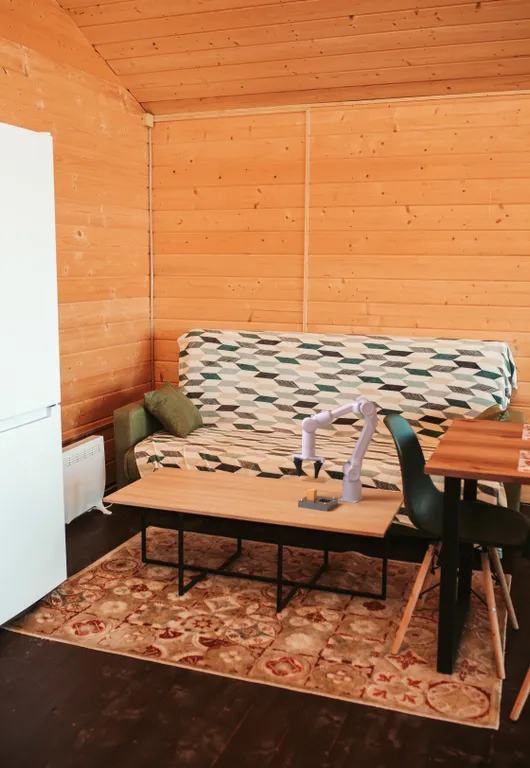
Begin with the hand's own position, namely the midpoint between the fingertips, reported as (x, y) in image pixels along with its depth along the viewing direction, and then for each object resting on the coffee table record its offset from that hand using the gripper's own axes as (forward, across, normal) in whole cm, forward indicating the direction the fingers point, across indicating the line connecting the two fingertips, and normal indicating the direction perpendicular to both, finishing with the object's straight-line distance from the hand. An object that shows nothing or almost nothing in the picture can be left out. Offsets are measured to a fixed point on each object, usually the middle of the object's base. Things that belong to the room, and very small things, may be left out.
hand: (307, 477), depth 331 cm
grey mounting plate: (+10, +8, -6) cm, 14 cm away
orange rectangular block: (+10, +4, -6) cm, 12 cm away
